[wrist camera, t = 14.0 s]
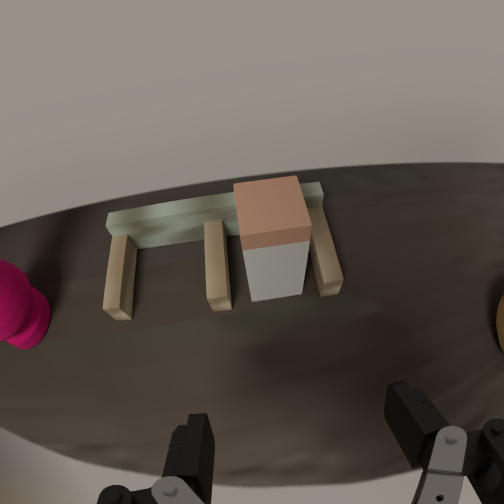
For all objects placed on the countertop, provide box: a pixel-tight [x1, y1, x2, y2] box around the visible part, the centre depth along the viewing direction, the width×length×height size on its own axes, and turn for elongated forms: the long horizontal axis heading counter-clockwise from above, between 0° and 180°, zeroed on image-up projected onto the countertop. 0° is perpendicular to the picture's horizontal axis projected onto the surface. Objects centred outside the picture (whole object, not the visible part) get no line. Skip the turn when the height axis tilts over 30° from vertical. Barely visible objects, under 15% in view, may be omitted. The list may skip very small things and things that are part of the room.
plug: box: [233, 176, 312, 302], centre depth 22 cm, size 4×4×9 cm
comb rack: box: [103, 182, 344, 321], centre depth 25 cm, size 18×8×4 cm, turn 96°
